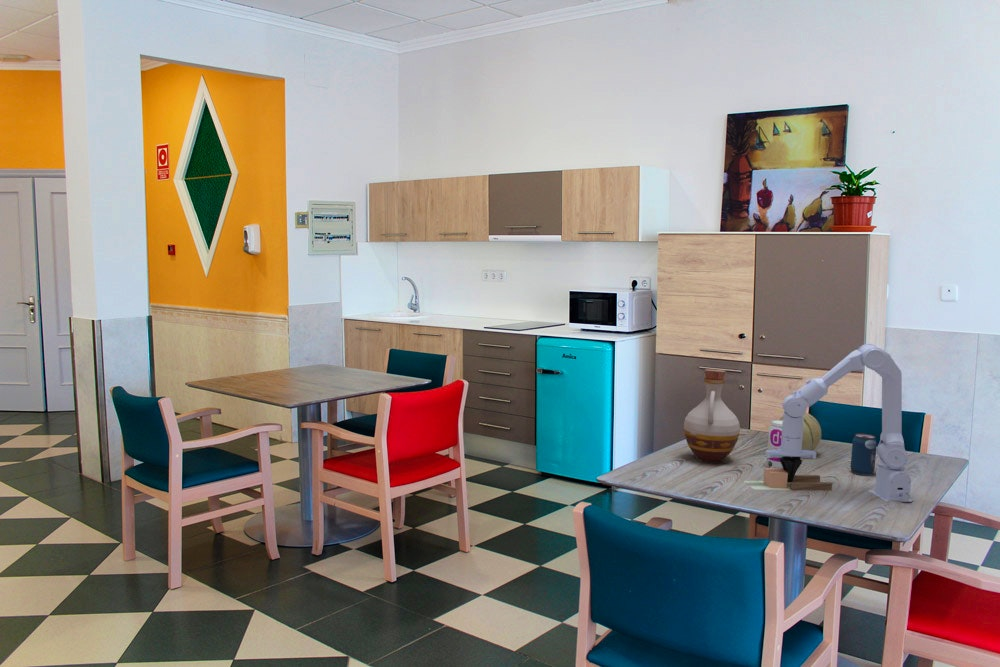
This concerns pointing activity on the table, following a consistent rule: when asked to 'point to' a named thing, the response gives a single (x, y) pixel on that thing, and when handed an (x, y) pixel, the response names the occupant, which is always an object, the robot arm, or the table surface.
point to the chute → (796, 484)
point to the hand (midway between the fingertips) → (788, 481)
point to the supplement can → (775, 442)
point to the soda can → (863, 454)
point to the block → (775, 477)
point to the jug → (712, 423)
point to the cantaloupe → (810, 432)
